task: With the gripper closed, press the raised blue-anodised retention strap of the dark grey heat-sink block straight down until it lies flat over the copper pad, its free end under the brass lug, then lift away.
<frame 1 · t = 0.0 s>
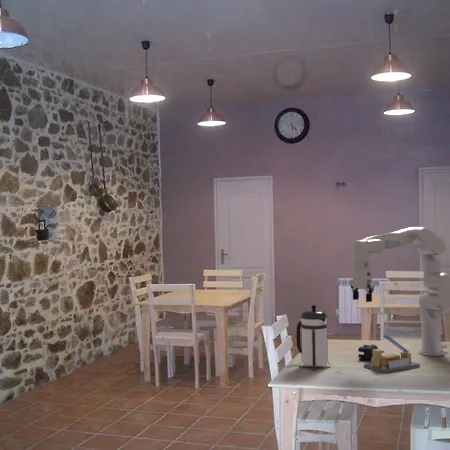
hand: (362, 300, 302), 31 cm above the table, fingers open, 9 cm apart
coffee press: (312, 367, 301), on the table
sink block: (391, 367, 297), on the table
end cap: (368, 359, 315), on the table
strap: (396, 344, 298), point 11 cm above the table, hinge at 35.0°
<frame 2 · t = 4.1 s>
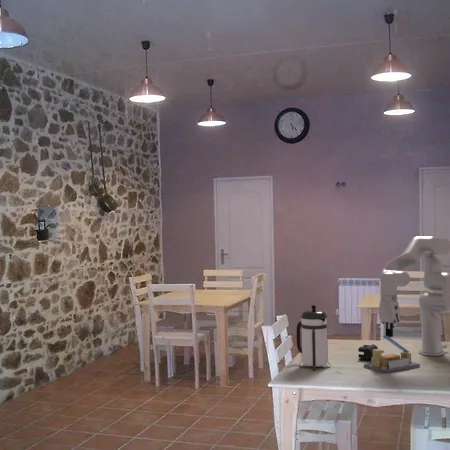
hand: (389, 336, 296), 15 cm above the table, fingers closed
strap: (396, 344, 298), point 11 cm above the table, hinge at 34.1°, touching gripper
everything else where it was.
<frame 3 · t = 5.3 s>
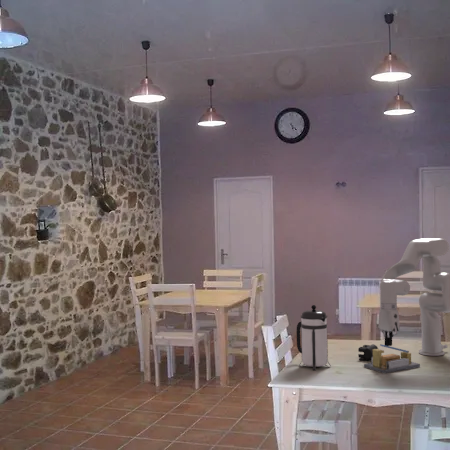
hand: (388, 345, 295), 11 cm above the table, fingers closed
strap: (394, 348, 298), point 9 cm above the table, hinge at 17.1°, touching gripper
everything else where it was.
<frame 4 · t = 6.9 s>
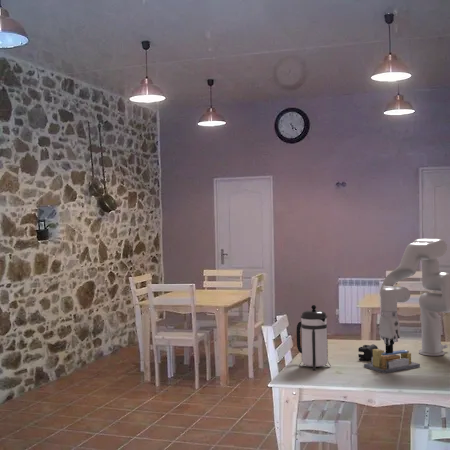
hand: (389, 352, 296), 7 cm above the table, fingers closed
strap: (394, 352, 297), point 7 cm above the table, hinge at 1.8°, touching gripper
everything else where it was.
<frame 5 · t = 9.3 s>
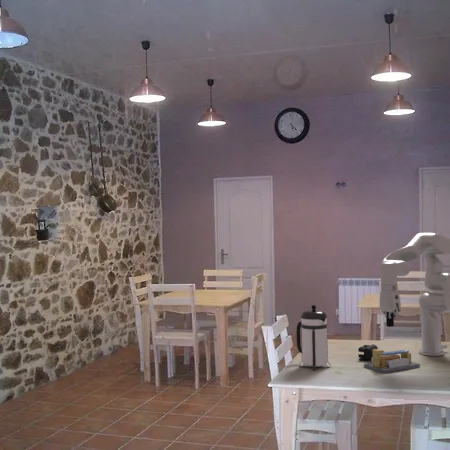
hand: (390, 326, 297), 19 cm above the table, fingers closed
strap: (394, 352, 297), point 7 cm above the table, hinge at 1.6°
everything else where it was.
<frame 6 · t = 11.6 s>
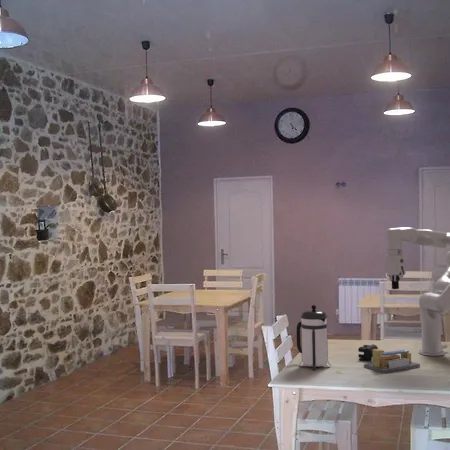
hand: (395, 288, 315), 35 cm above the table, fingers closed
nothing on the table moved.
at the end: strap at +2° (first picture: +35°); strap touching nothing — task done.
